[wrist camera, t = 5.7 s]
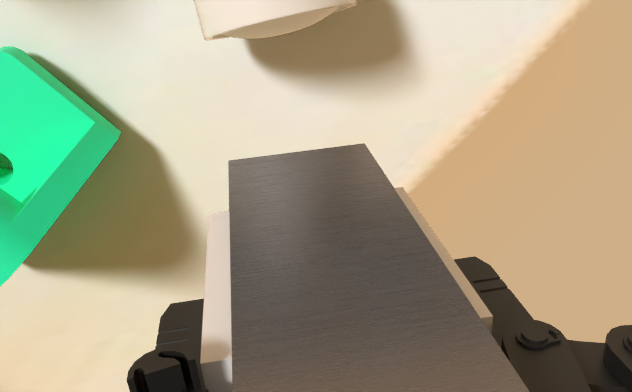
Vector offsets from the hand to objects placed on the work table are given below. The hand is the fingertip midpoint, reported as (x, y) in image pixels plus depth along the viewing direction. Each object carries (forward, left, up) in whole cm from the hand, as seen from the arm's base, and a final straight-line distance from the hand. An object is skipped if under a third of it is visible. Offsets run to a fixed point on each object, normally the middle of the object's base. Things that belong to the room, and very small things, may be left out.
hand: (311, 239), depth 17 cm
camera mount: (-16, -2, -19) cm, 25 cm away
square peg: (0, 0, -2) cm, 2 cm away
